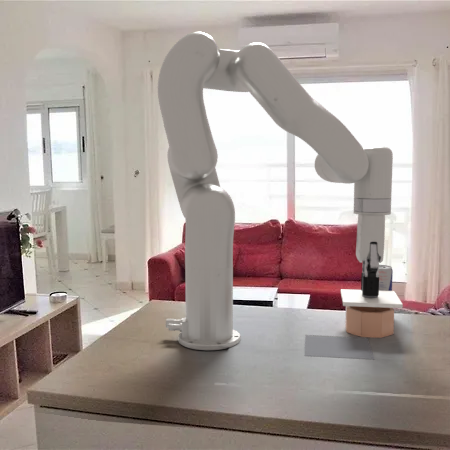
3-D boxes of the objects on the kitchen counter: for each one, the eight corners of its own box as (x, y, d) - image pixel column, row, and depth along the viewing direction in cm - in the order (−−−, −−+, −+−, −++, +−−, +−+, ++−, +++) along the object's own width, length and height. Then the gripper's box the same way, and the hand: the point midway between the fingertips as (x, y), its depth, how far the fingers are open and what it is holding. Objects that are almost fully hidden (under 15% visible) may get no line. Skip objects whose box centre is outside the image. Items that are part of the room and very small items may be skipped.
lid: (343, 305, 112) (343, 277, 112) (340, 292, 124) (341, 267, 123) (402, 308, 111) (403, 279, 110) (394, 294, 122) (395, 268, 121)
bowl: (347, 337, 114) (347, 311, 113) (344, 324, 124) (345, 300, 123) (395, 340, 113) (396, 313, 112) (389, 326, 122) (389, 302, 121)
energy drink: (393, 316, 130) (395, 265, 129) (387, 321, 126) (388, 269, 124) (371, 312, 133) (372, 263, 132) (364, 318, 128) (365, 267, 127)
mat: (304, 357, 103) (304, 355, 103) (305, 336, 115) (305, 334, 115) (374, 361, 101) (374, 359, 101) (367, 339, 113) (367, 337, 113)
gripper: (351, 203, 124) (349, 284, 126) (356, 210, 108) (354, 302, 110) (385, 204, 122) (383, 285, 125) (396, 210, 106) (393, 303, 108)
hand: (369, 292), depth 117 cm, fingers closed on lid, 3 cm apart
